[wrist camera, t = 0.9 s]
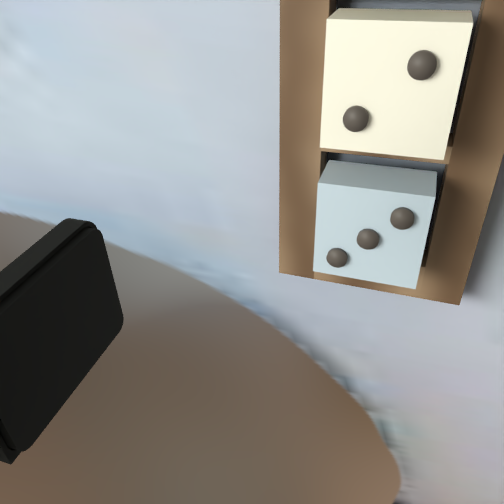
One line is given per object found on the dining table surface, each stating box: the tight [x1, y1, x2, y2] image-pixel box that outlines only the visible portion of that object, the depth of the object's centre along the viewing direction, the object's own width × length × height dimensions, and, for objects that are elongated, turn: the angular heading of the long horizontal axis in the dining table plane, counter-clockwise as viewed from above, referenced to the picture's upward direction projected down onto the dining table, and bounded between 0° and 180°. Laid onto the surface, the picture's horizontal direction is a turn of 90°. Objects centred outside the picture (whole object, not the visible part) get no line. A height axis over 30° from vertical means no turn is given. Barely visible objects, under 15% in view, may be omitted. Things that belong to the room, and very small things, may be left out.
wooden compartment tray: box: [279, 0, 504, 305], centre depth 25 cm, size 12×28×2 cm, turn 2°
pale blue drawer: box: [313, 160, 437, 289], centre depth 28 cm, size 6×6×3 cm
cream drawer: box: [320, 8, 473, 160], centre depth 23 cm, size 6×6×3 cm
